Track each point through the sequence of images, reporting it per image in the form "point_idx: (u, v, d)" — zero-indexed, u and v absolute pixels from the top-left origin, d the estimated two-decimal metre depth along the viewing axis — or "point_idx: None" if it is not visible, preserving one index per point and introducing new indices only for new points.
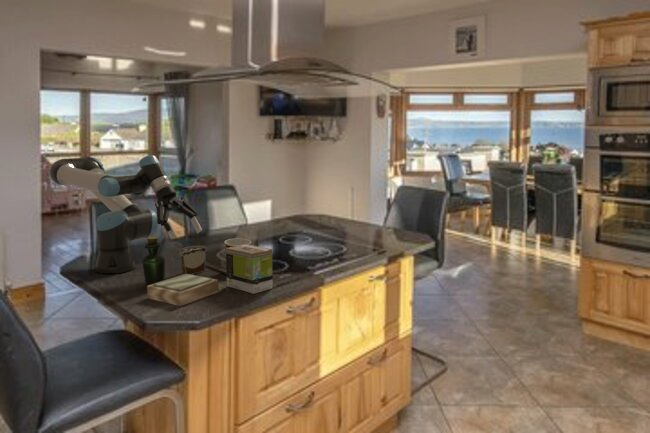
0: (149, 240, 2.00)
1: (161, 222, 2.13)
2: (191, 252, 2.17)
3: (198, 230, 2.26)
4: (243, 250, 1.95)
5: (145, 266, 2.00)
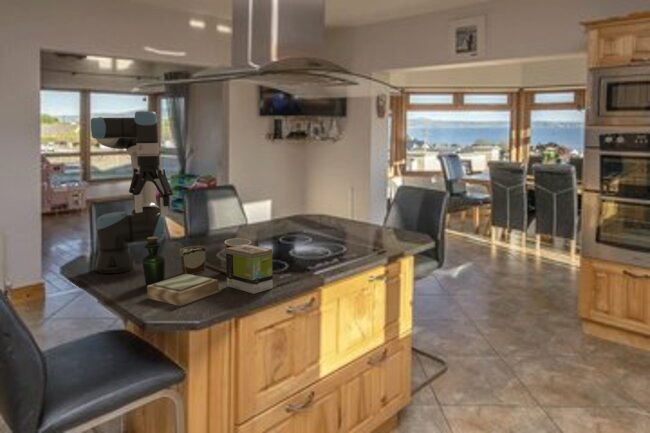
0: (149, 240, 2.00)
1: None
2: (191, 252, 2.17)
3: None
4: (243, 250, 1.95)
5: (145, 266, 2.00)
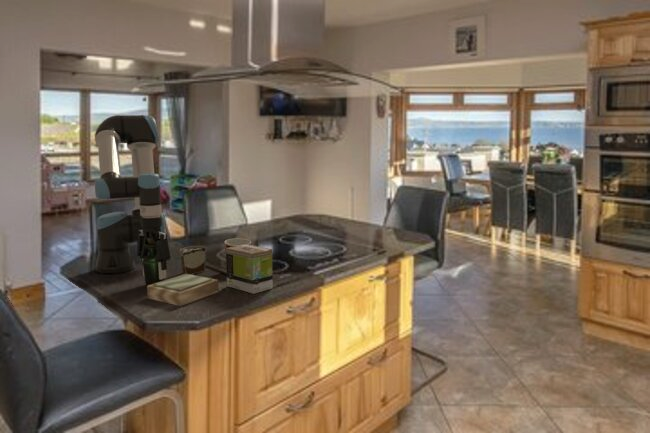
0: (149, 240, 2.00)
1: None
2: (191, 252, 2.17)
3: None
4: (243, 250, 1.95)
5: (145, 266, 2.00)
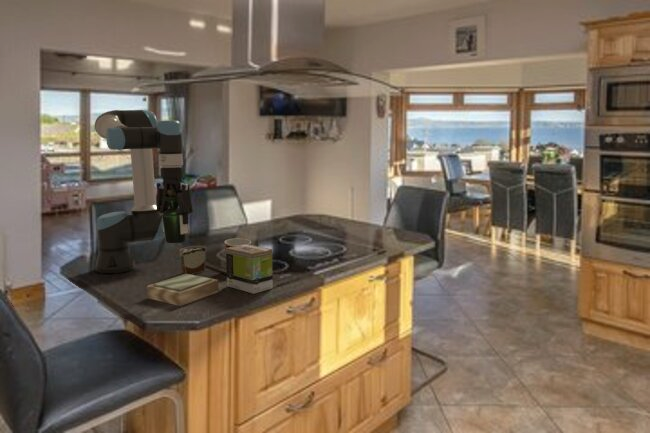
0: (169, 192, 1.86)
1: (160, 210, 1.92)
2: (191, 252, 2.17)
3: None
4: (243, 250, 1.95)
5: (165, 220, 1.86)
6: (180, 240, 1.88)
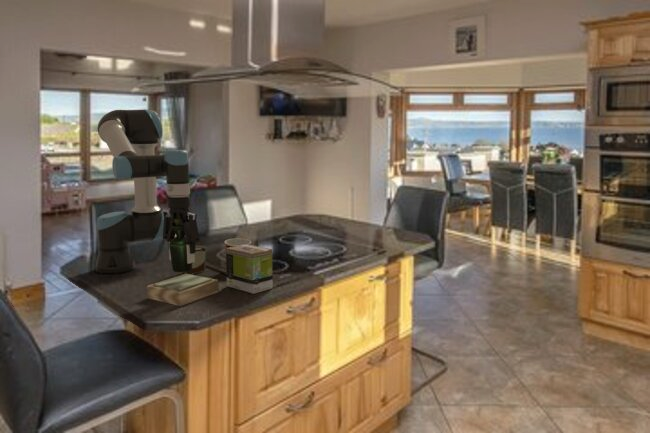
0: (176, 221, 1.86)
1: None
2: None
3: None
4: (243, 250, 1.95)
5: (172, 249, 1.86)
6: (187, 269, 1.88)
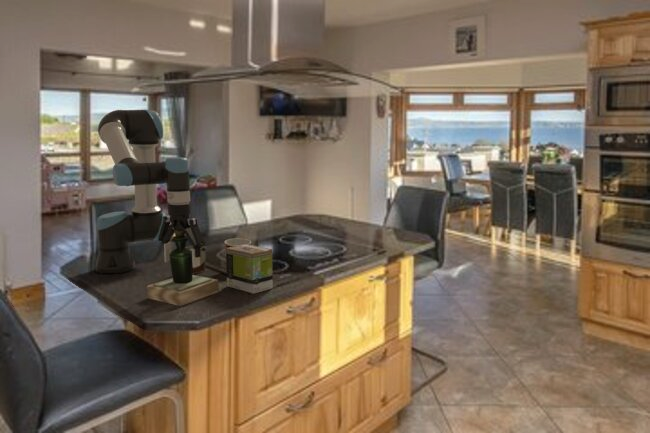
0: (177, 233, 1.87)
1: None
2: None
3: None
4: (243, 250, 1.95)
5: (173, 261, 1.87)
6: (187, 280, 1.89)
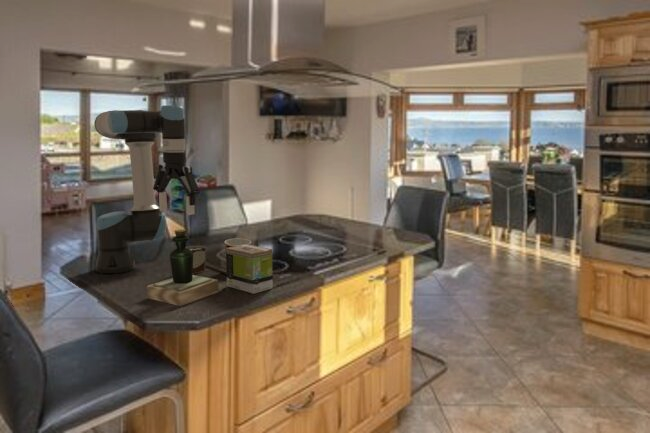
0: (177, 233, 1.87)
1: None
2: None
3: None
4: (243, 250, 1.95)
5: (173, 261, 1.87)
6: (187, 280, 1.89)
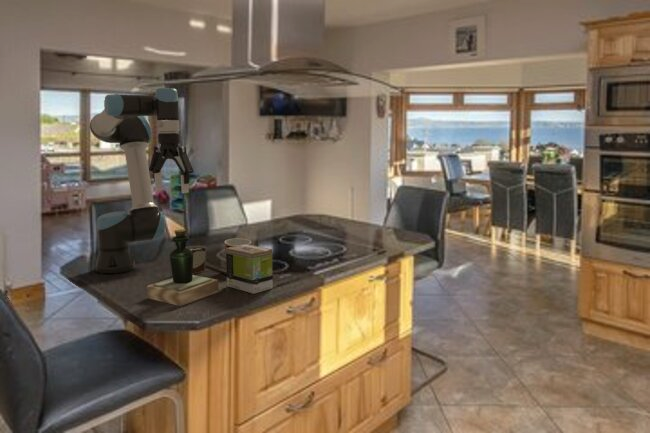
0: (177, 233, 1.87)
1: None
2: None
3: None
4: (243, 250, 1.95)
5: (173, 261, 1.87)
6: (187, 280, 1.89)
